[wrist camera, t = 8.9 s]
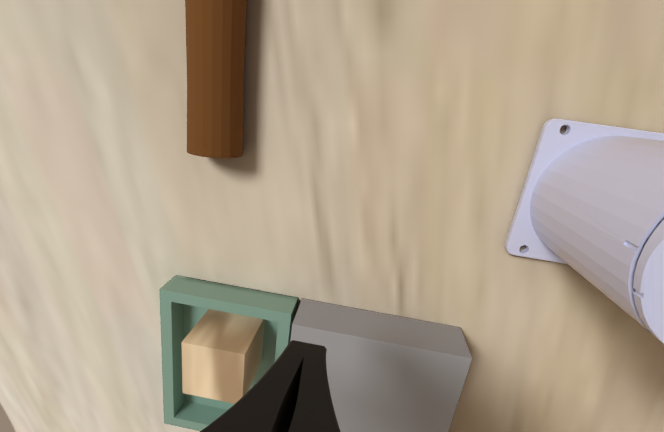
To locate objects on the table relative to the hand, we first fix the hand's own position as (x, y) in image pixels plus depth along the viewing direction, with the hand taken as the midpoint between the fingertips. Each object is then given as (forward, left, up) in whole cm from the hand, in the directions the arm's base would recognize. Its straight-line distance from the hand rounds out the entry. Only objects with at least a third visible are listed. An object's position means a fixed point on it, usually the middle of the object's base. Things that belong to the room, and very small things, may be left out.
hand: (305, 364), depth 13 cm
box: (+7, +10, -10) cm, 16 cm away
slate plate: (-4, +10, -10) cm, 15 cm away
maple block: (+4, +8, -8) cm, 12 cm away
